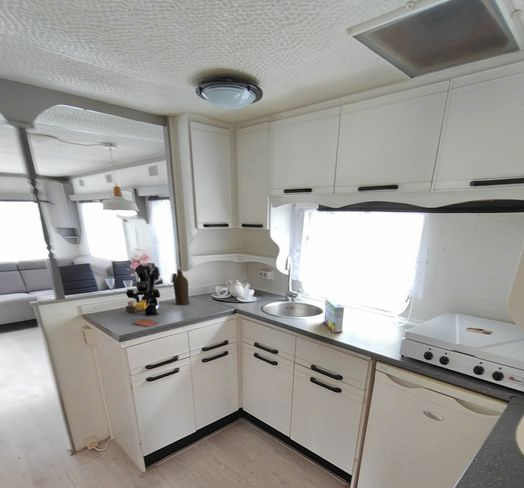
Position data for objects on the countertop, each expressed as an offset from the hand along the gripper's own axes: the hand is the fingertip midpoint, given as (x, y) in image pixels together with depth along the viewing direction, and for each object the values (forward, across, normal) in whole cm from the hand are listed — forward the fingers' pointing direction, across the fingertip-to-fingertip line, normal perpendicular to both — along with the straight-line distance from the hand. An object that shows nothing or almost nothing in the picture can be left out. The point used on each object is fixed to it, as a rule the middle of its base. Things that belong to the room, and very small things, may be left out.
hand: (142, 305), depth 192 cm
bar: (0, 0, +2) cm, 2 cm away
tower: (-13, -13, +29) cm, 34 cm away
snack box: (+18, +113, -2) cm, 114 cm away
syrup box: (-18, +1, +30) cm, 35 cm away
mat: (+7, 0, +9) cm, 11 cm away
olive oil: (-26, +17, +43) cm, 53 cm away
